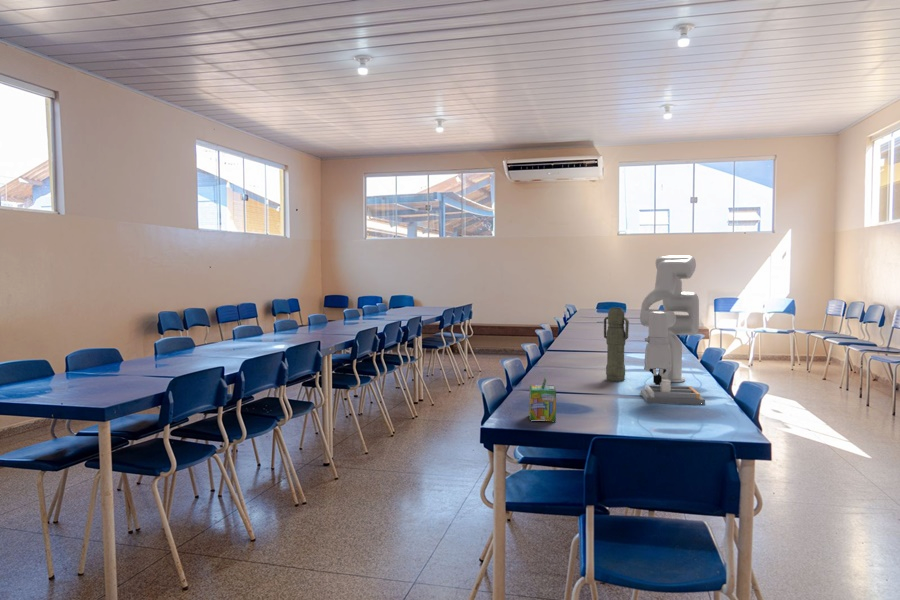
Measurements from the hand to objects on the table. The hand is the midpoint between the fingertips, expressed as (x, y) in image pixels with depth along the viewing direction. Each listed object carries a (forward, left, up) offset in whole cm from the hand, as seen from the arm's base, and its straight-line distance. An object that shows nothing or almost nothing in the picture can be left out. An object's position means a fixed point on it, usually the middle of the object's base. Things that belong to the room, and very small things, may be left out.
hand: (657, 384), depth 234 cm
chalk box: (+42, -47, -6) cm, 63 cm away
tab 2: (+6, +2, -3) cm, 7 cm away
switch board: (+3, +5, -5) cm, 8 cm away
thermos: (-35, -13, -6) cm, 38 cm away
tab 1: (0, +3, -3) cm, 4 cm away
